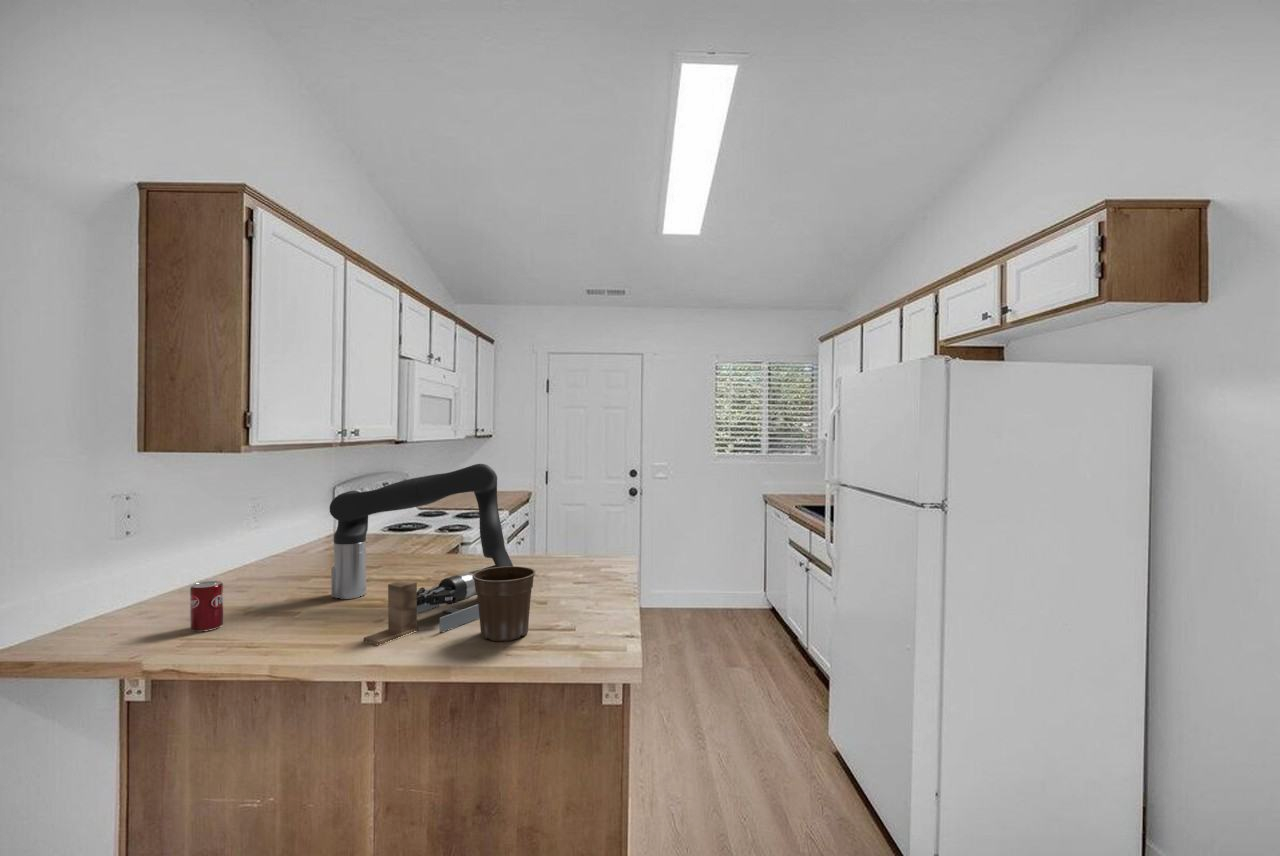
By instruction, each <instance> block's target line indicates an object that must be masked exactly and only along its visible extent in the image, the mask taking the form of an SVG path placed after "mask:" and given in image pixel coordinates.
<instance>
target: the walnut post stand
mask: <svg viewBox="0 0 1280 856" xmlns="http://www.w3.org/2000/svg"><path fill="white" fill-rule="evenodd" d="M417 584H418V583H417V581H409V580H405V579H403V580H400V581H396V582H391V583H388V584H387V603H388V604H387V608H388V609H387V610H388V612H387V613H388V615H387V623H388V624H387V625H388V626H387V627H388V628H387V629H385V630H381V631H378V632H375V633H373V634H370V635H367V636H364V637H363V642H364V641H367V642H371V643H374V644H373V645H375V644H378V645H380V644H383V643H385V642H388V641H390V640H393V639H396V638H398V637H401V636H403V635H406V634H409V633H411V632H414V631H417V630H418V631H419V627H418V620H417V619H418V614H417V592H418V591H417V590H418V588H417V587H418V585H417ZM396 640H397V639H396ZM393 641H394V640H393ZM367 642H366V643H367ZM371 643H370V644H371ZM388 643H389V642H388ZM385 644H386V643H385ZM378 645H377V646H378ZM383 645H384V644H383ZM380 646H381V645H380Z"/></svg>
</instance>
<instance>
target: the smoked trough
mask: <svg viewBox="0 0 1280 856" xmlns="http://www.w3.org/2000/svg"><path fill="white" fill-rule="evenodd" d="M438 606H439V607H440V604H436V605H430V604H426V605H424V604H422V605H419V606H417V613H418V614H421V613H424V612H426V610H427V611H430V610H433V609H436V608H439V607H438ZM435 607H436V608H435ZM432 608H433V609H432ZM429 609H430V610H429ZM423 611H424V612H423ZM441 611H442V613H444V612H446V613H445V614H446V615H443V616H441V617H439V633H440V632H443V631H446V630H448V629H451V628H454V627H456V628H458V627H457V626H459V625H461V626H463V625H462V624H464V625H466V624H465V623H467V622H469V623H471V622H470V621H472V622H474V621H477V620H479V619H478V618H479V607H478V603H477V604H475V605H472V606H469V607H466V608H464V609H459V608H454V607H449V608H446V609H442V610H441ZM420 612H421V613H420ZM449 613H451V614H449ZM476 619H477V620H476ZM473 620H474V621H473ZM467 624H468V623H467ZM459 627H460V626H459ZM454 629H455V628H454ZM451 630H452V629H451ZM448 631H449V630H448ZM446 632H447V631H446ZM443 633H444V632H443Z"/></svg>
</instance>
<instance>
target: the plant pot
mask: <svg viewBox="0 0 1280 856" xmlns="http://www.w3.org/2000/svg"><path fill="white" fill-rule="evenodd" d="M482 569H483V570H481V569H479V570H480V571H477V572H475V573H474V574H473V575H472V578H473V579H474V582H475V591H476V592H477V595H476V597H477V604H478V607H479V618H480V619H479V627H480V636H481V638H482V637H483V638H482V639H484V640H488V639H489V640H490V641H492V642H507V641H508V642H509V641H513V640H517V639H520V638H521V636H522V637H526V635H528V633H529V624H530V623H529V619H530V611H531V609H530V608H531V607H530V606H531V599H532V597H531V596H532V588H533V587H534V576H535V575H536V571H535V569H533V568H531V567H525V566H516V565H515V566H514V565H513V566H505V567H494V568H488V569H484V568H482Z"/></svg>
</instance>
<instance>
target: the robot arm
mask: <svg viewBox="0 0 1280 856" xmlns="http://www.w3.org/2000/svg"><path fill="white" fill-rule="evenodd" d="M464 493H474V496H475V499H476V502H477V505H478V506H477V507H478V515H479V516H478V517H479V538H480V543H481V549H482V554H483V556H484V557H485V558H486V559H491V560H492V561H493V562H494V563H493V564H494V565H490V566H487V567H484V568H482V569H477V570H473V571H470V572H464V573H459V574H456V575H454V576H453V575H452V576H449V577H445V578H443V579H441V581H440V582H439V584H438V585H435V586H432V587H430V588H428V589H426V588H425V587H419V589H417V590H418V591H417V606H419V605H422V604H424V605H426V604H430V605H436V604H439V605H444V604H446V605H453V604H457V603H459V602H462V601H465V600H468V599H470V598H472V597H474V596H477V592H476V591H475V582H474V579H473V578H472V575H473V574H474V573H475V572H477V571H480V570H483V569H488V568H494V567H505V566H514V565H513V562H512V559H511V558H510V556H509V554H508V552H507V549H506V545H505V540H504V534H503V528H502V524H501V518H500V512H499V506H498V505H499V504H498V476H497V473H496V471H494V469H493V468H492V467H491V466H490V465H489V464H485V463H476V464H473V465H469V466H467V467H464V468H459V469H456V470H453V471H449V472H444V473H436V474H431V475H424V476H417V477H414V478H409V479H405V480H401V481H398V482H394V483H390V484H389V485H385V486H382V487H379V488H376V489H371V490H367V491H357V490H349V491H345V492H342V493H339V494H338V495H336V496H335V497H334V498H333V499H332V500H331V502H330V505H329V513H330V515H331V516H332V517H333V518H334V519H335V520H336V521H337V527H336V531H335V532H334V535H333V554H334V555H333V556H334V557H333V559H334V560H333V562H334V563H333V564H334V566H332V567H331V572H330V573H331V582H330V583H331V586H330V587H331V592H330V594H331V598H332V597H335V598H334V599H337V598H340V600H349V599H357V598H361V597H363V595H364V596H366V595H367V533H368V528H369V516H370V515H374V514H378V513H386V512H393V511H400V510H407V509H412V508H417V507H422V506H427V505H430V504H433V503H435V502H439V501H440V500H442V499H444V498H447V497H449V496H453V495H457V494H464ZM360 596H361V597H360Z"/></svg>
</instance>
